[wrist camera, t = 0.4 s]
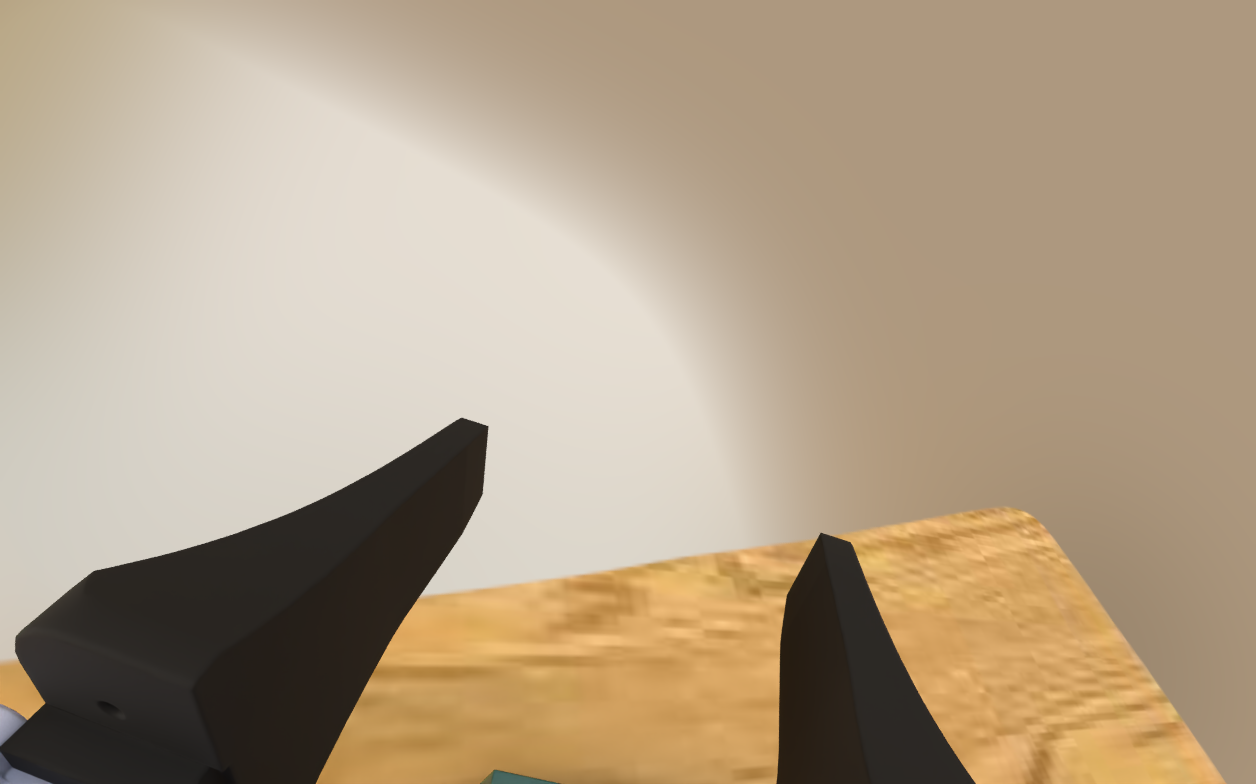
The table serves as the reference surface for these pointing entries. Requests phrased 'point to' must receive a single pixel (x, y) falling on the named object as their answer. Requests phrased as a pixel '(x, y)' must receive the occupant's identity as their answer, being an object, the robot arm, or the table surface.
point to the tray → (512, 779)
